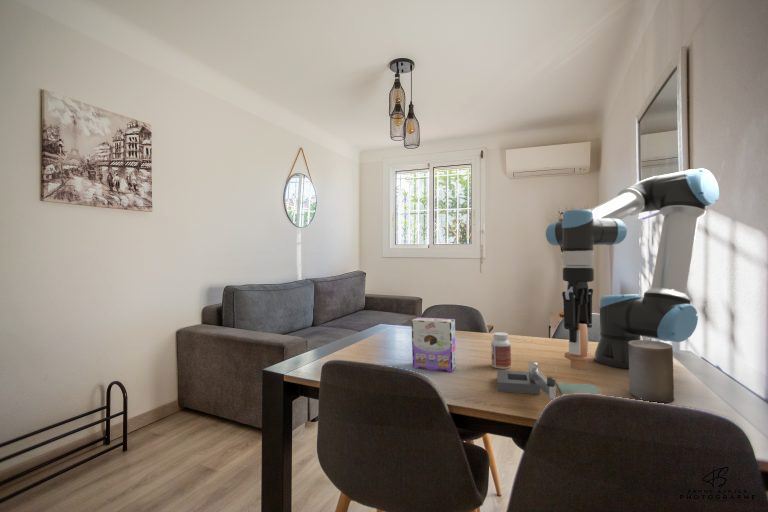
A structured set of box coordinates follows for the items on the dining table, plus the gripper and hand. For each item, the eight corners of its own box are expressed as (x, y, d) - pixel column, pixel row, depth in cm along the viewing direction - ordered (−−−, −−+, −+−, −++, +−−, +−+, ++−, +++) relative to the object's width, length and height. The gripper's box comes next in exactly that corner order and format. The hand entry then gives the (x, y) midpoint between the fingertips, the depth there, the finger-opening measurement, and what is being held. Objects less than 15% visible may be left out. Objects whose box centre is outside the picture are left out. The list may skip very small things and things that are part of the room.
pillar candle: (680, 396, 99) (678, 339, 99) (665, 406, 93) (664, 345, 93) (638, 386, 107) (636, 333, 107) (622, 394, 101) (621, 338, 101)
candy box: (456, 367, 127) (455, 318, 127) (452, 372, 122) (451, 321, 121) (417, 363, 133) (416, 316, 133) (411, 368, 127) (410, 319, 127)
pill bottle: (515, 367, 126) (514, 333, 126) (502, 370, 123) (502, 336, 123) (500, 362, 131) (499, 330, 131) (487, 366, 128) (487, 333, 128)
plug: (589, 365, 106) (589, 322, 106) (596, 373, 99) (596, 327, 99) (562, 363, 108) (562, 321, 108) (567, 371, 101) (567, 326, 101)
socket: (535, 380, 113) (535, 372, 113) (540, 394, 102) (540, 385, 102) (497, 378, 116) (497, 369, 116) (497, 391, 105) (497, 382, 105)
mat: (595, 386, 107) (595, 385, 107) (605, 400, 97) (605, 398, 97) (556, 383, 110) (556, 382, 110) (562, 396, 100) (562, 395, 100)
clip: (528, 380, 105) (528, 359, 105) (536, 380, 105) (536, 359, 105) (547, 403, 89) (547, 379, 89) (557, 403, 89) (557, 379, 89)
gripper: (577, 265, 111) (578, 344, 112) (548, 267, 101) (549, 355, 101) (605, 265, 106) (606, 349, 106) (577, 268, 95) (578, 361, 95)
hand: (578, 352), depth 103 cm, fingers closed on plug, 4 cm apart
